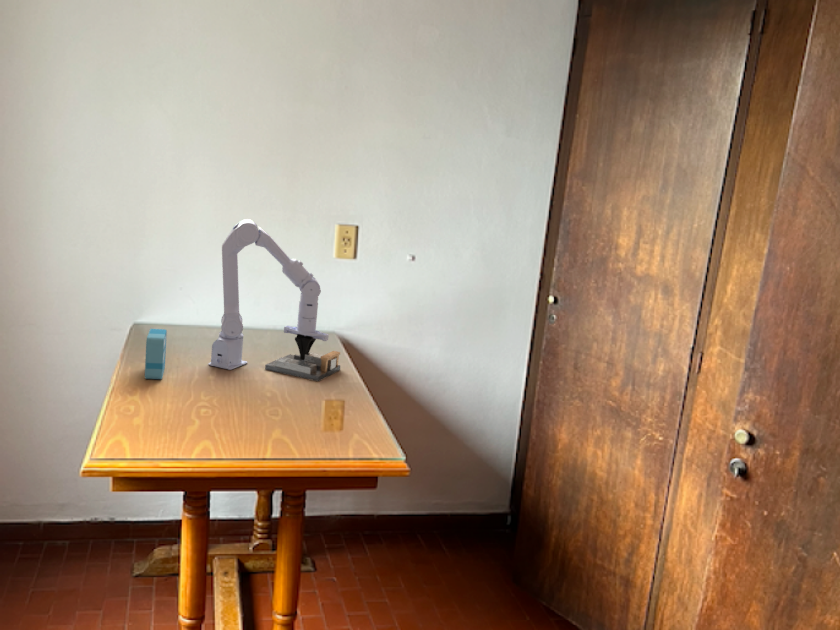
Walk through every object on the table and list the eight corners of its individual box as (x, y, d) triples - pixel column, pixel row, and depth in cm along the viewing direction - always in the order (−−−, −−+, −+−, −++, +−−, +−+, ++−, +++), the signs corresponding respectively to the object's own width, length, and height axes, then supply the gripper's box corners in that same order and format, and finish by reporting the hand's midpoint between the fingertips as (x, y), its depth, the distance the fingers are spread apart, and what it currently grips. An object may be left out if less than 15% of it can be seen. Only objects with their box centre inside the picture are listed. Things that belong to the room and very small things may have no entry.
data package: (161, 381, 216) (163, 339, 213) (144, 380, 214) (146, 338, 212) (164, 368, 227) (166, 328, 224) (148, 367, 226) (150, 327, 223)
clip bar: (330, 369, 239) (331, 360, 238) (304, 363, 241) (305, 354, 241) (335, 367, 242) (336, 357, 241) (309, 361, 245) (310, 352, 244)
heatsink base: (318, 381, 231) (319, 362, 230) (265, 369, 237) (266, 350, 236) (340, 370, 245) (341, 352, 244) (289, 358, 251) (291, 341, 249)
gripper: (334, 318, 242) (330, 360, 245) (293, 310, 246) (289, 351, 249) (324, 322, 235) (320, 365, 238) (281, 314, 240) (278, 356, 243)
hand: (303, 358), depth 243 cm, fingers closed
